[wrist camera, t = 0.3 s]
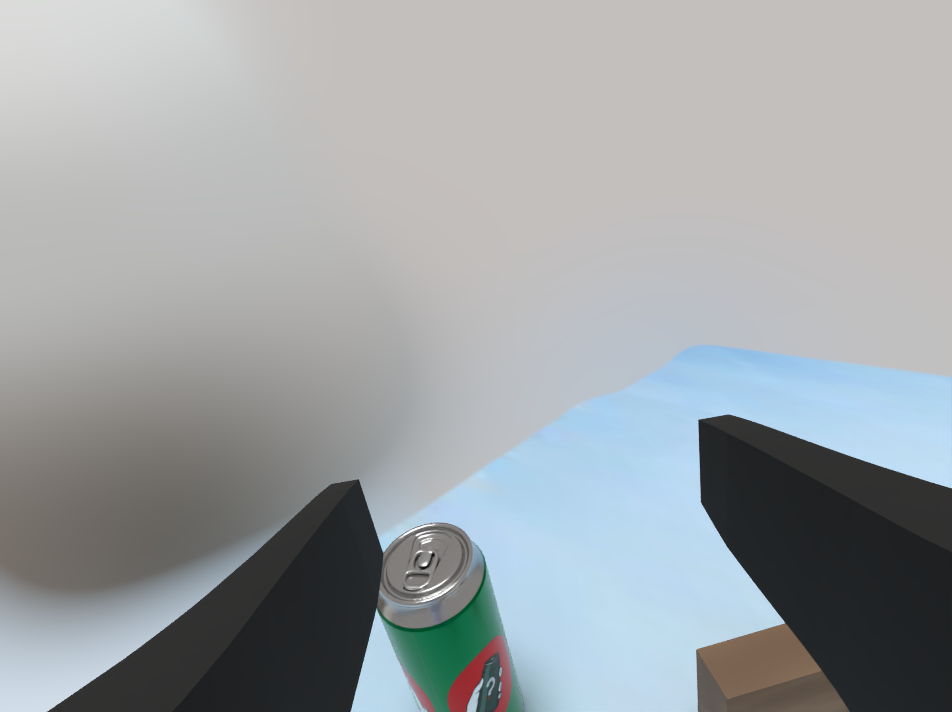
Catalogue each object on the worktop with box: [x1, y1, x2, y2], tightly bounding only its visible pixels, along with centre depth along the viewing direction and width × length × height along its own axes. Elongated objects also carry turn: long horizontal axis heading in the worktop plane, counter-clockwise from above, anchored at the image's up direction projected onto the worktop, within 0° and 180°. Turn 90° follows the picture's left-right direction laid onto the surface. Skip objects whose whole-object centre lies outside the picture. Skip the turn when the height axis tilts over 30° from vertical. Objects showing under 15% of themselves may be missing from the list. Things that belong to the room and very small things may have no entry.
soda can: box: [377, 523, 525, 712], centre depth 21 cm, size 5×5×12 cm
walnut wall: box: [696, 623, 850, 712], centre depth 20 cm, size 2×15×6 cm, turn 98°
